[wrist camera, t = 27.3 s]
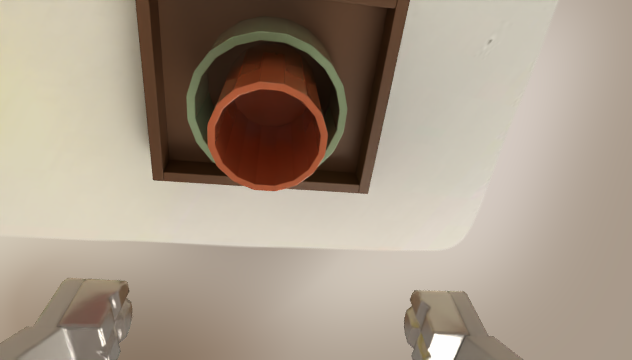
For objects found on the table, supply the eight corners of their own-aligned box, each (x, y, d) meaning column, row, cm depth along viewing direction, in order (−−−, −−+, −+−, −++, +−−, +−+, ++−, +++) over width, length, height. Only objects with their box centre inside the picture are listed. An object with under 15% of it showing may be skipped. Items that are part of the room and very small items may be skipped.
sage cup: (345, 23, 28) (359, 41, 23) (326, 148, 33) (334, 186, 28) (201, 6, 27) (182, 22, 22) (204, 139, 32) (189, 177, 27)
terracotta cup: (320, 47, 28) (335, 88, 21) (310, 131, 32) (319, 194, 24) (227, 37, 28) (206, 76, 20) (226, 124, 31) (208, 187, 23)
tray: (399, -9, 28) (410, -4, 25) (362, 176, 35) (367, 194, 32) (145, -41, 26) (131, -39, 23) (162, 162, 33) (152, 180, 30)
